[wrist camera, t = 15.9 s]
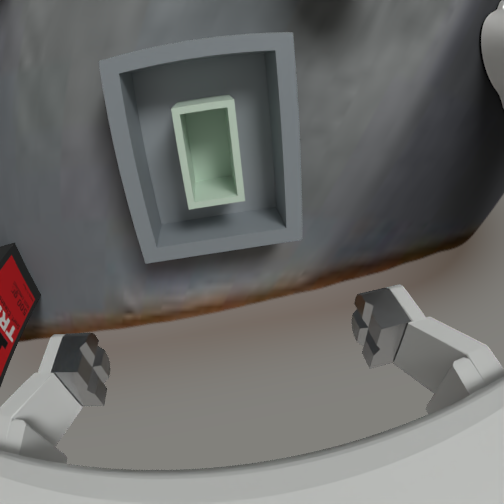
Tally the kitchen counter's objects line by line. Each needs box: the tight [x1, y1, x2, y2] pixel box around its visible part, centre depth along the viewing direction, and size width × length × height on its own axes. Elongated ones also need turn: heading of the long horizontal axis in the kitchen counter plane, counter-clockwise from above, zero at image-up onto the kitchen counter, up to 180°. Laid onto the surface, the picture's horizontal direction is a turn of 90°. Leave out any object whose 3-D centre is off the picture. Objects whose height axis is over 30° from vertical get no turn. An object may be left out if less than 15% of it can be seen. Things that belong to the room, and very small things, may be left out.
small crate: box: [171, 94, 245, 210], centre depth 28 cm, size 5×9×6 cm, turn 5°
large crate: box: [99, 32, 302, 264], centre depth 28 cm, size 16×20×6 cm
